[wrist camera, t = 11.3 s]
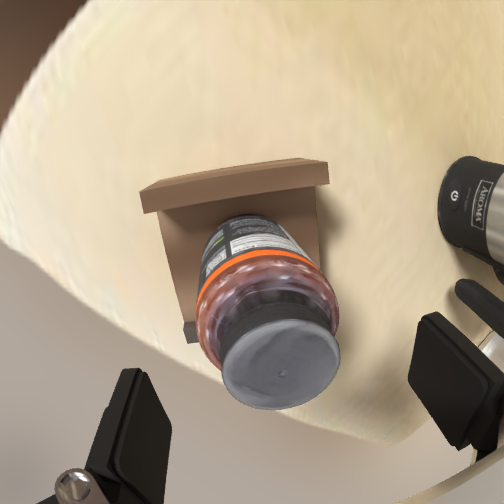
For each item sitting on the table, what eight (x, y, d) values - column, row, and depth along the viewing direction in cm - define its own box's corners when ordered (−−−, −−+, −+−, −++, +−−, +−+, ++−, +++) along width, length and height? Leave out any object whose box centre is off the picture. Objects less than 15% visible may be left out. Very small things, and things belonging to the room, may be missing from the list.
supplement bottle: (277, 303, 21) (325, 431, 11) (193, 286, 20) (177, 420, 10) (305, 223, 20) (395, 311, 9) (214, 200, 18) (210, 274, 8)
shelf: (311, 299, 25) (335, 340, 19) (192, 320, 24) (187, 367, 19) (298, 158, 21) (327, 162, 15) (160, 179, 20) (139, 191, 15)
